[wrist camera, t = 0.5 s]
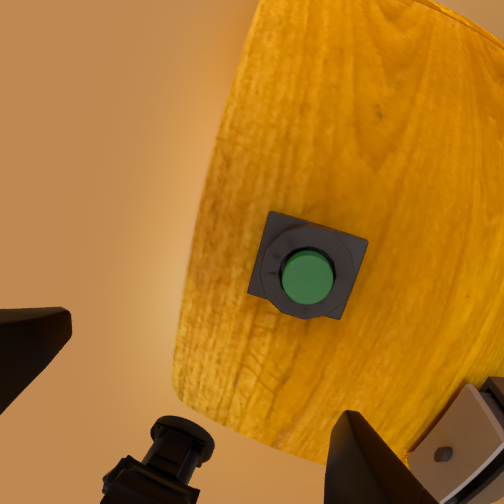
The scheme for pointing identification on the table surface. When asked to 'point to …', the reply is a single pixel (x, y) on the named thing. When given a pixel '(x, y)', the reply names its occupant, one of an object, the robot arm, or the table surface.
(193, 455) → the robot arm
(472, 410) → the drawer
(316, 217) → the table surface
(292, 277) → the button
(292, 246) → the control block
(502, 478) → the cabinet
